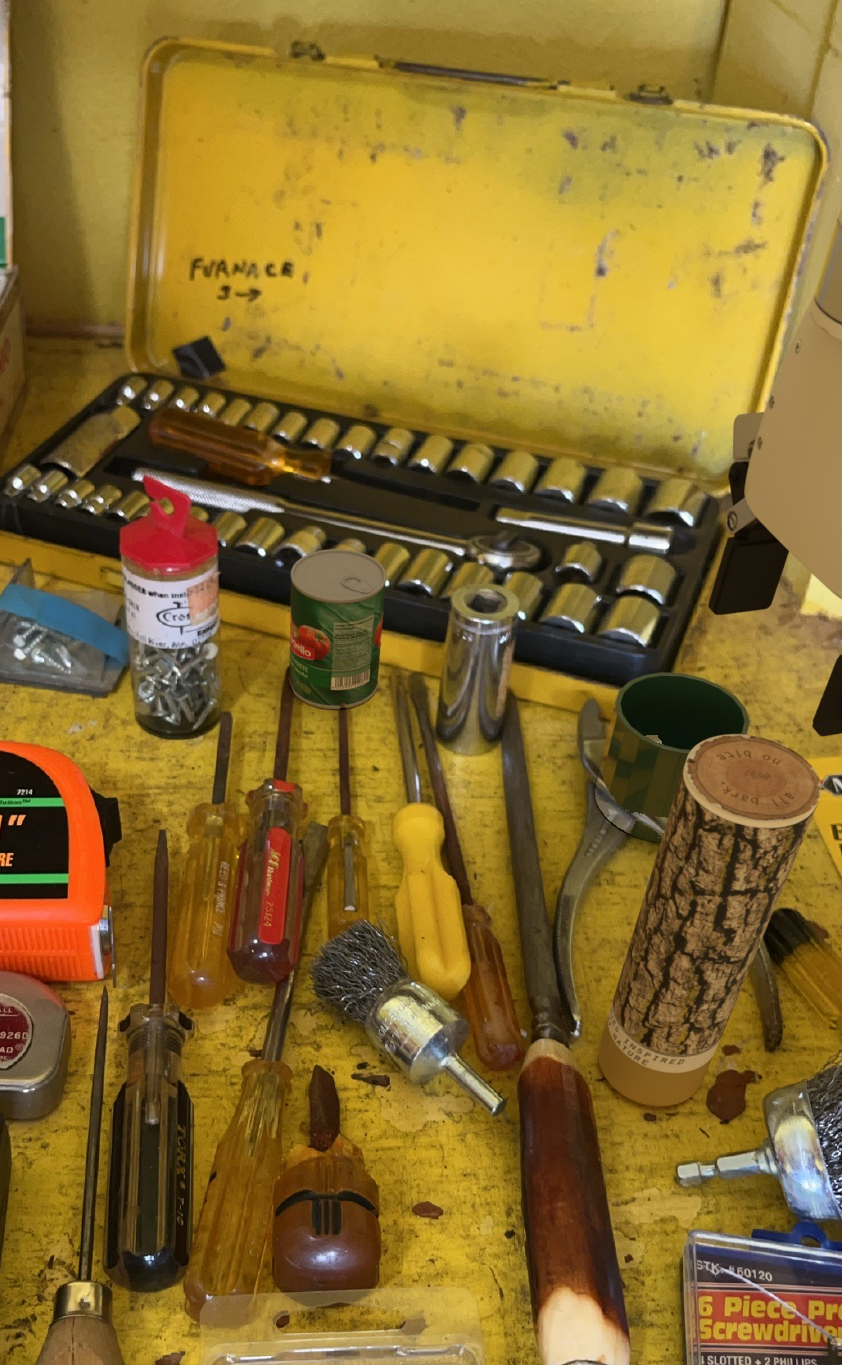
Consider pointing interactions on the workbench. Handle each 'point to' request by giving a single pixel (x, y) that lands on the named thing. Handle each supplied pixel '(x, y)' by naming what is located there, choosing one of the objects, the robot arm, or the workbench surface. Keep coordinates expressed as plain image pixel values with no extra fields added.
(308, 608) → the canned tomato
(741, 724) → the tool cup
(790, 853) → the paper tube
